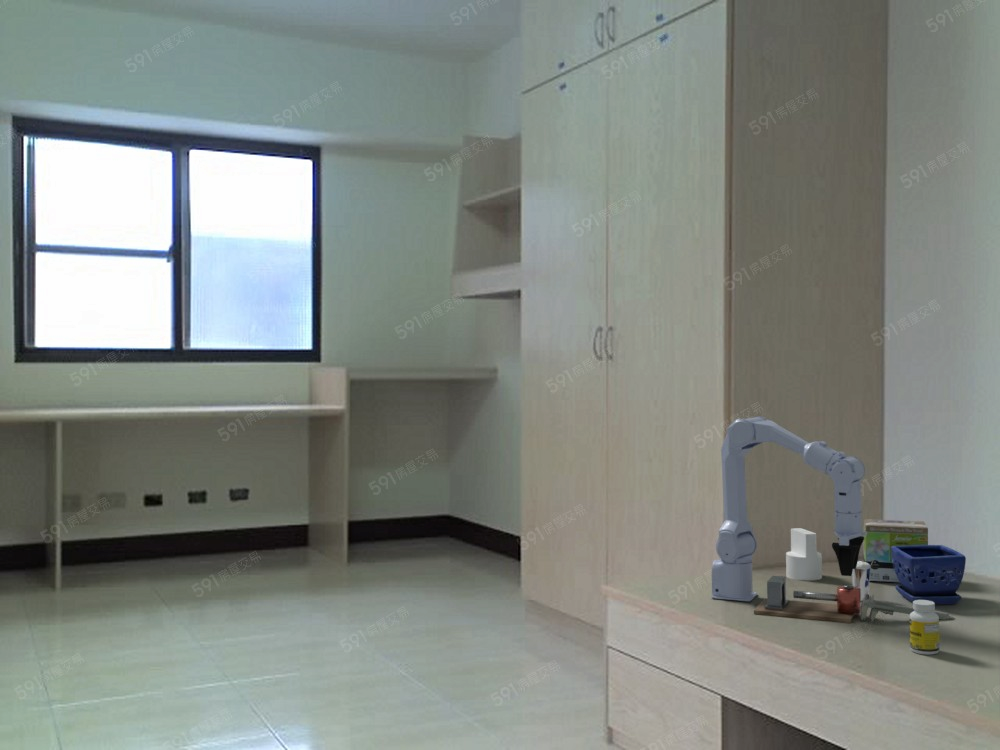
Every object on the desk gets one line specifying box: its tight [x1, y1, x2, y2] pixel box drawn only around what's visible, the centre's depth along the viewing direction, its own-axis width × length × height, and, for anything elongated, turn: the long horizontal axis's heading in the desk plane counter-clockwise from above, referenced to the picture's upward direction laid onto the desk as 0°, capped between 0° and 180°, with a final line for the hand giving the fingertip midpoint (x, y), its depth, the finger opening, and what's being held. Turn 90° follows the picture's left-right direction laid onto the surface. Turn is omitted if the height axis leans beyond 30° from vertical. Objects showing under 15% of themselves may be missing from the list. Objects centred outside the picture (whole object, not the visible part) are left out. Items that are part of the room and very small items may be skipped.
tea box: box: [863, 518, 929, 583], centre depth 264 cm, size 15×10×15 cm, turn 73°
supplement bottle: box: [909, 600, 940, 656], centre depth 202 cm, size 5×5×10 cm
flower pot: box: [891, 544, 967, 606], centre depth 242 cm, size 13×13×12 cm
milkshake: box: [851, 559, 874, 602], centre depth 243 cm, size 4×5×10 cm
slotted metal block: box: [765, 575, 789, 611], centre depth 237 cm, size 4×8×6 cm, turn 154°
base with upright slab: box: [785, 527, 823, 582], centre depth 269 cm, size 9×9×12 cm
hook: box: [793, 584, 862, 615], centre depth 232 cm, size 14×5×6 cm, turn 64°
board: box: [753, 597, 856, 624], centre depth 234 cm, size 21×12×1 cm, turn 64°
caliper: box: [860, 593, 955, 622], centre depth 225 cm, size 20×1×6 cm, turn 91°
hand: (848, 571), depth 229 cm, fingers open, 7 cm apart
